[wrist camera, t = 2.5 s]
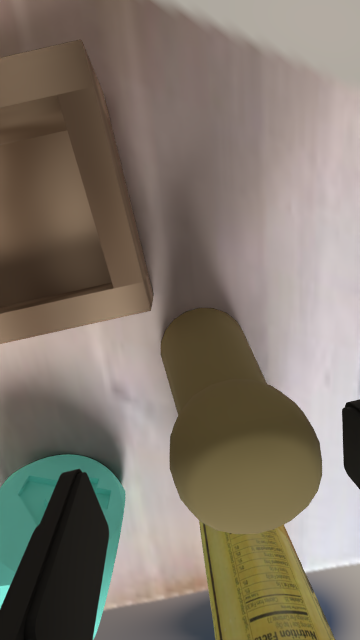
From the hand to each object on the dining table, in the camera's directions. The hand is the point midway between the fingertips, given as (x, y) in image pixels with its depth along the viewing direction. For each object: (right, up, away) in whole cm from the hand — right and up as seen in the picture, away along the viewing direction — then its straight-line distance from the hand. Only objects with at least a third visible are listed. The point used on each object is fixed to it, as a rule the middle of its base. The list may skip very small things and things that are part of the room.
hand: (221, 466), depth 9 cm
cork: (0, +3, +9) cm, 10 cm away
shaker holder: (-10, +11, +6) cm, 16 cm away
